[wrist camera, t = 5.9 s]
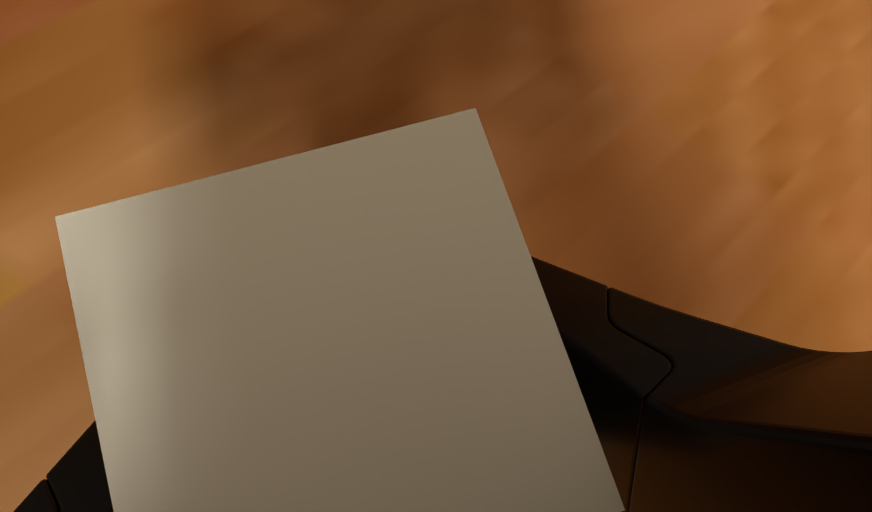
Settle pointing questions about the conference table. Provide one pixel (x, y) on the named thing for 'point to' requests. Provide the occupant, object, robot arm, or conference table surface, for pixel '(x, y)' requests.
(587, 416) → the plug
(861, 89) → the conference table surface
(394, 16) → the conference table surface
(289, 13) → the conference table surface
